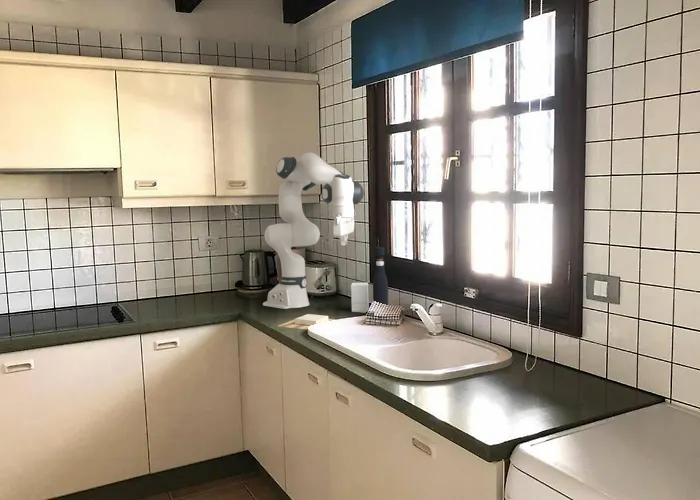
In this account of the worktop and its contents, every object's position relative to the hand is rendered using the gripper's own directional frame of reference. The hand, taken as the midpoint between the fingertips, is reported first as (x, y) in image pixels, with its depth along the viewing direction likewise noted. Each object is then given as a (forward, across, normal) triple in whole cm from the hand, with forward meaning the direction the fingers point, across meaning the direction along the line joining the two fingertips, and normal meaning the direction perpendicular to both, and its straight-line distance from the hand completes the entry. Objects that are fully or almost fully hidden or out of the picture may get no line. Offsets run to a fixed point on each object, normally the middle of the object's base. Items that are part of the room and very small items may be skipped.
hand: (344, 245), depth 277 cm
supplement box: (+31, +12, -4) cm, 34 cm away
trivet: (+31, -17, +10) cm, 37 cm away
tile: (+29, -12, +9) cm, 33 cm away
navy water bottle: (+31, +3, -15) cm, 35 cm away
